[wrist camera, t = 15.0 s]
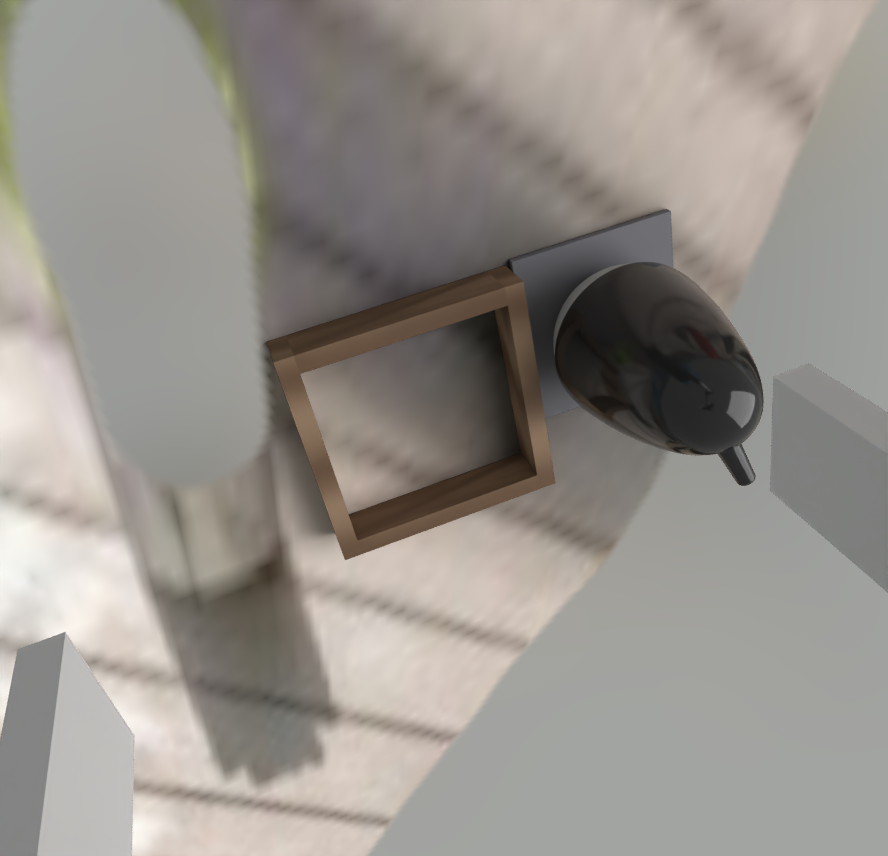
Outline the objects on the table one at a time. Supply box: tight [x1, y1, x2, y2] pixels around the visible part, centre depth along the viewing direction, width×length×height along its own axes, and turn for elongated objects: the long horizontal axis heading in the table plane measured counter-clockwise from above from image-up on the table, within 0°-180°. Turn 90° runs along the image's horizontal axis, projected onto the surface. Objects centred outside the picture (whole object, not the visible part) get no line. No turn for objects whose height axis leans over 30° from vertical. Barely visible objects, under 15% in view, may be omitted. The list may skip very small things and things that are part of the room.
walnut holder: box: [267, 266, 555, 560], centre depth 53 cm, size 15×15×3 cm
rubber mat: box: [509, 209, 673, 419], centre depth 55 cm, size 12×11×1 cm
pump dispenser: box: [553, 262, 764, 486], centre depth 48 cm, size 10×10×15 cm
